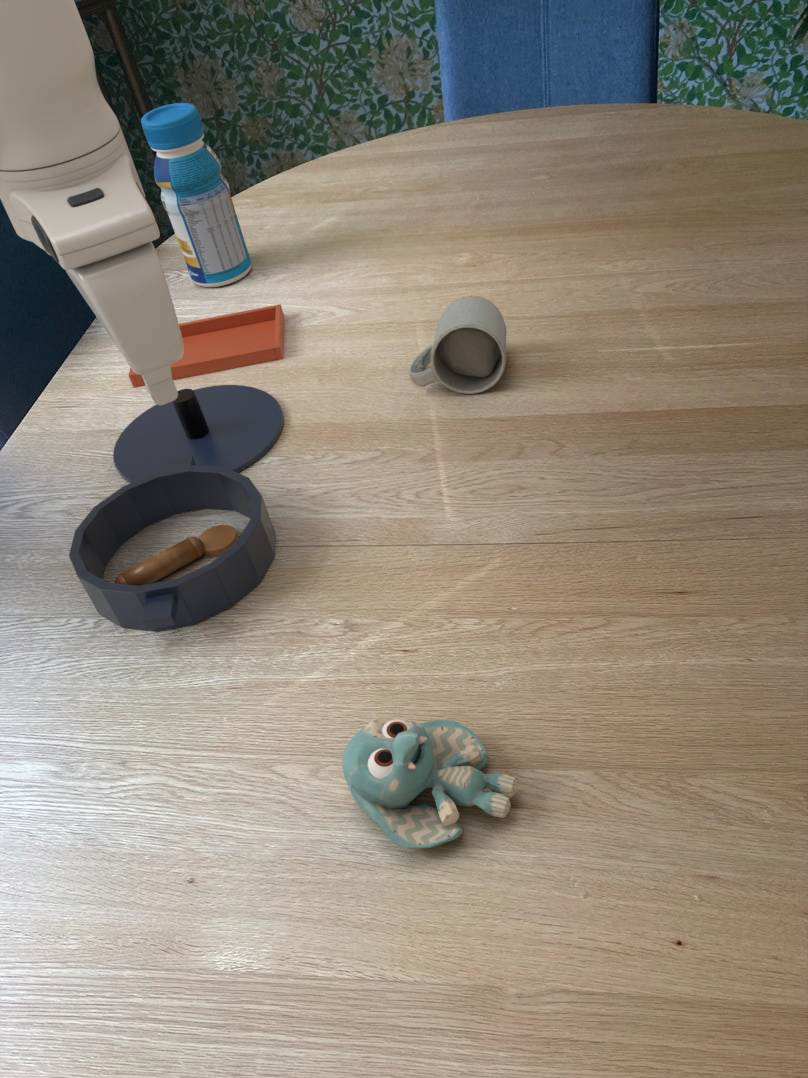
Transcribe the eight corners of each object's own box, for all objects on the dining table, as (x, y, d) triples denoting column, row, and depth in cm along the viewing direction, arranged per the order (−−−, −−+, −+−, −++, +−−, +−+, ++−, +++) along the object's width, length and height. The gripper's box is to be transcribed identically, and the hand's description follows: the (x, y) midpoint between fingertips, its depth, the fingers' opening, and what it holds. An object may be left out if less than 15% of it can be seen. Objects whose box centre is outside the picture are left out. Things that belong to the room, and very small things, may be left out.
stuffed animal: (494, 834, 61) (308, 781, 63) (488, 890, 66) (317, 840, 68) (538, 699, 68) (369, 655, 70) (530, 760, 73) (373, 717, 75)
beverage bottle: (235, 290, 129) (180, 125, 115) (179, 289, 132) (118, 127, 117) (265, 259, 134) (216, 97, 120) (210, 258, 137) (156, 99, 123)
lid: (106, 510, 99) (82, 463, 95) (128, 411, 112) (107, 366, 108) (284, 476, 99) (267, 427, 95) (286, 381, 112) (271, 334, 108)
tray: (135, 391, 115) (128, 375, 113) (145, 346, 122) (138, 331, 120) (284, 363, 114) (279, 346, 113) (285, 320, 122) (280, 303, 120)
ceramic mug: (510, 348, 110) (500, 282, 104) (510, 390, 104) (500, 322, 99) (415, 361, 111) (400, 296, 106) (409, 403, 105) (393, 336, 100)
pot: (75, 673, 84) (49, 631, 80) (111, 509, 99) (90, 468, 96) (274, 636, 84) (257, 592, 80) (279, 477, 99) (264, 435, 96)
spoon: (128, 608, 88) (119, 591, 86) (112, 588, 90) (103, 571, 89) (245, 543, 92) (238, 526, 90) (227, 526, 94) (220, 509, 93)
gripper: (-6, 160, 73) (74, 334, 83) (60, 255, 60) (145, 449, 69) (79, 134, 75) (147, 307, 84) (161, 220, 61) (230, 414, 71)
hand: (147, 372), depth 77 cm, fingers open, 8 cm apart
